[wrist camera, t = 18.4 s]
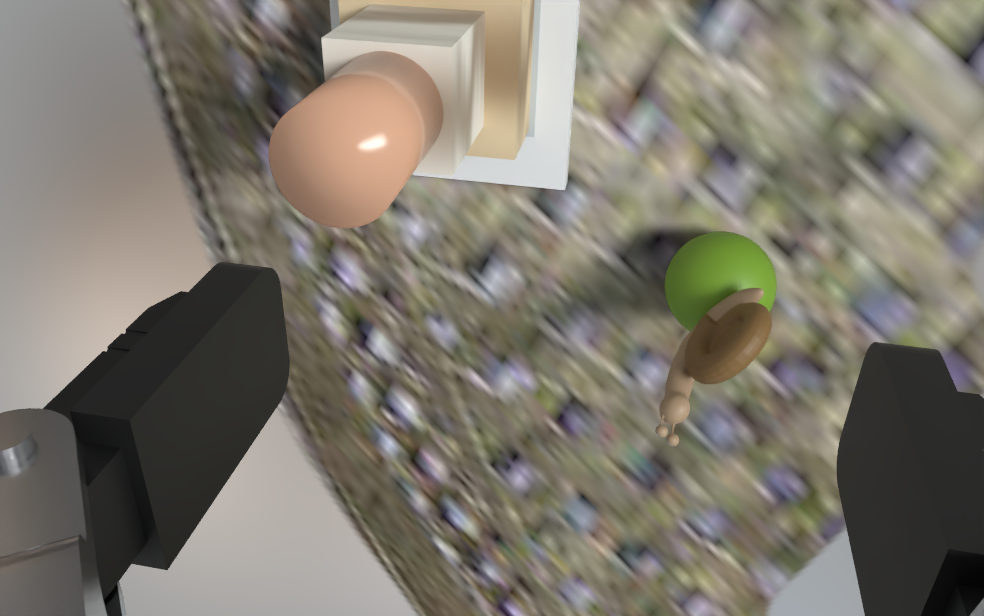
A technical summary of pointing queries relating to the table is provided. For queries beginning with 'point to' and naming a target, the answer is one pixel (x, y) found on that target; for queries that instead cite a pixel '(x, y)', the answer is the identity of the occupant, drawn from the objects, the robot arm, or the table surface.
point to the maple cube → (425, 65)
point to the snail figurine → (715, 315)
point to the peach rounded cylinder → (356, 139)
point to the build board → (535, 105)
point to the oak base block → (491, 67)
